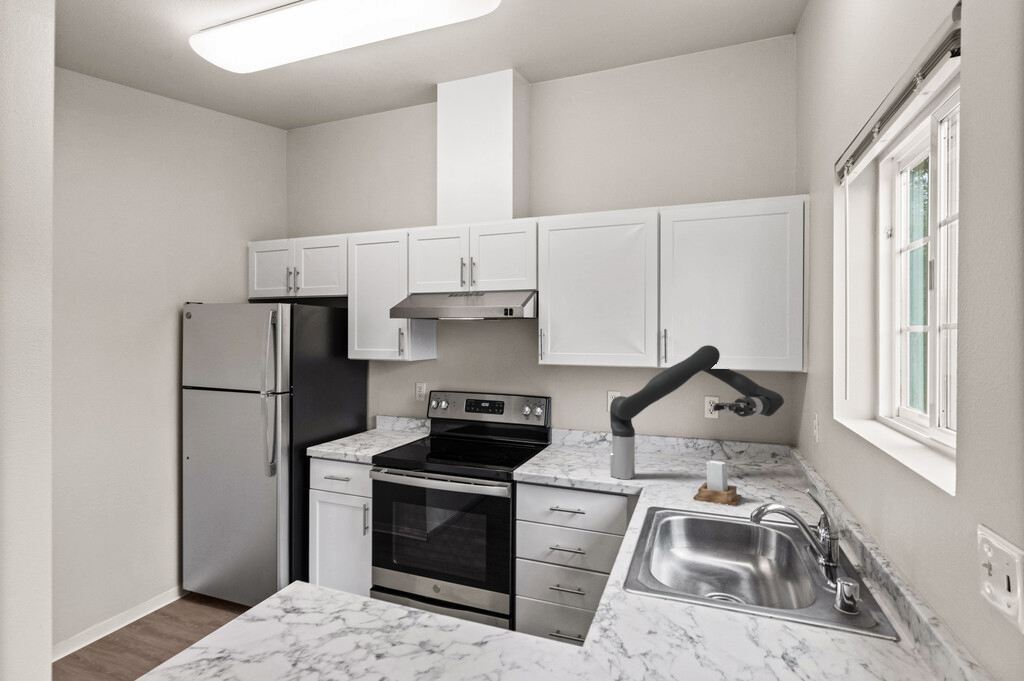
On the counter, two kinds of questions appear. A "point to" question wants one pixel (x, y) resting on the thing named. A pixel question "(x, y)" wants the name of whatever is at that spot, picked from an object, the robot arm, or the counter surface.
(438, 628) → the counter surface
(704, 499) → the walnut well board
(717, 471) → the skincare box
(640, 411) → the robot arm
